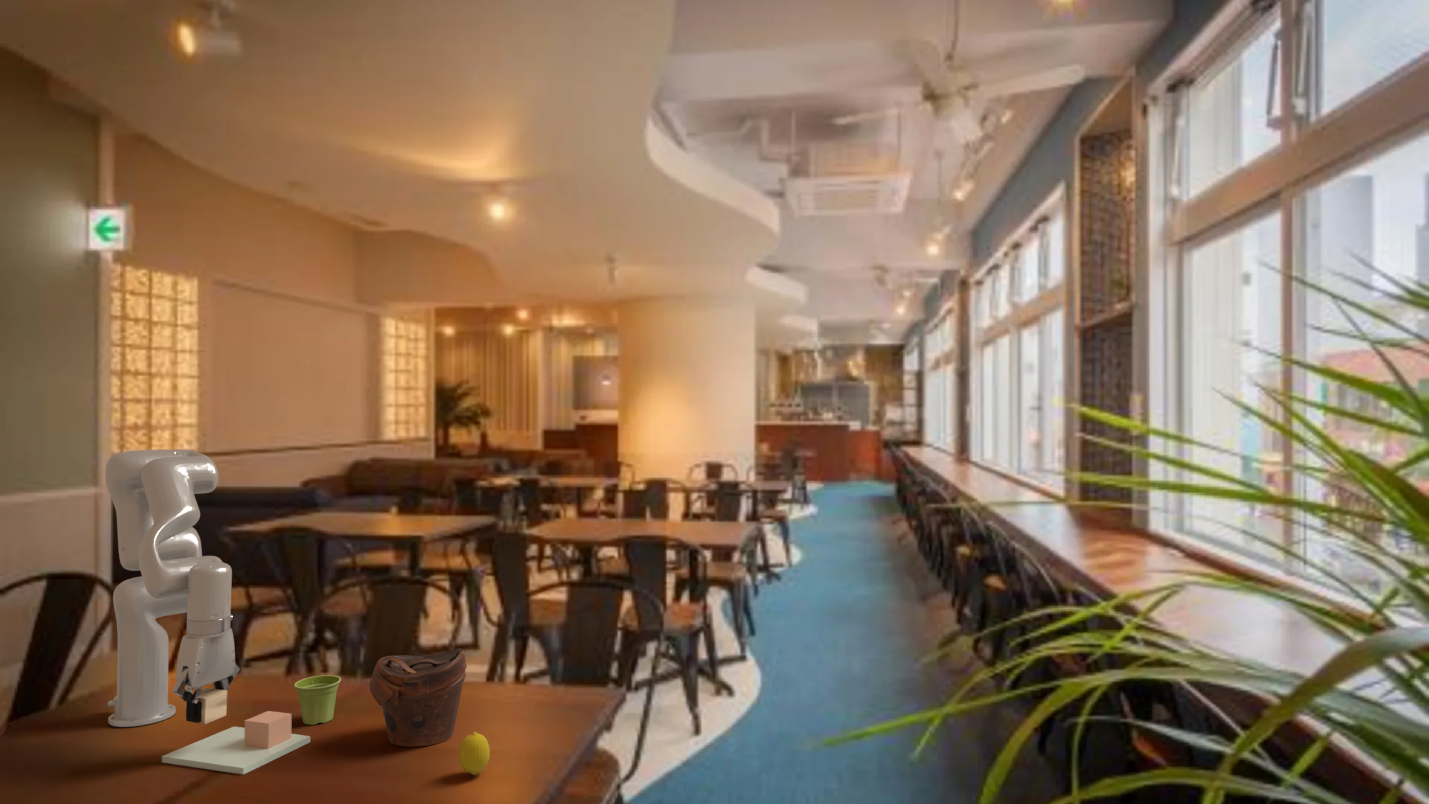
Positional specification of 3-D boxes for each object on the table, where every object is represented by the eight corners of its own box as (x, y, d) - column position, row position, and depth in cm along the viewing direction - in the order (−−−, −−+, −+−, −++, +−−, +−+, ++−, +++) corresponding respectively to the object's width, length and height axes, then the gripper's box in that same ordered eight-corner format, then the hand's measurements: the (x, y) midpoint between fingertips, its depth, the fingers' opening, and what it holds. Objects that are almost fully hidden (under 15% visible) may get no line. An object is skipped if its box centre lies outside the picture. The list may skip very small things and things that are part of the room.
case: (353, 738, 179) (355, 652, 179) (440, 715, 193) (442, 635, 194) (393, 763, 167) (395, 671, 167) (483, 736, 181) (485, 651, 182)
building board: (161, 762, 167) (161, 756, 167) (234, 732, 183) (234, 726, 183) (243, 774, 161) (243, 768, 161) (310, 742, 177) (310, 736, 177)
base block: (244, 745, 172) (244, 720, 172) (267, 735, 178) (268, 710, 178) (268, 748, 170) (268, 723, 170) (291, 738, 176) (291, 713, 176)
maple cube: (185, 720, 169) (186, 695, 169) (206, 711, 174) (207, 687, 174) (204, 724, 167) (205, 698, 167) (226, 715, 172) (227, 690, 172)
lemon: (462, 769, 163) (462, 727, 163) (491, 768, 163) (492, 726, 164) (456, 781, 157) (456, 738, 158) (486, 780, 158) (486, 737, 158)
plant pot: (322, 729, 184) (323, 689, 185) (284, 726, 186) (284, 686, 187) (349, 714, 194) (349, 676, 194) (312, 712, 195) (313, 674, 196)
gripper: (229, 613, 180) (226, 699, 180) (155, 634, 163) (152, 729, 164) (258, 617, 178) (255, 704, 178) (185, 639, 161) (182, 735, 161)
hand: (206, 715), depth 171 cm, fingers closed on maple cube, 5 cm apart
